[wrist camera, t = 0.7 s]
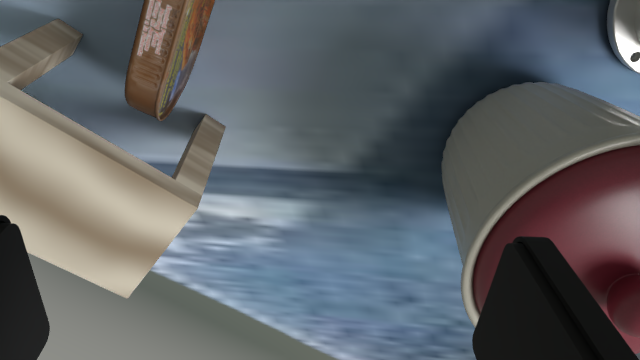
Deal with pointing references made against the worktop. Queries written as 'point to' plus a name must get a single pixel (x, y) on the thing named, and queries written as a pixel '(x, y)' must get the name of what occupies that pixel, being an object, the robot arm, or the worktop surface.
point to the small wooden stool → (87, 177)
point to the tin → (164, 53)
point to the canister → (549, 191)
